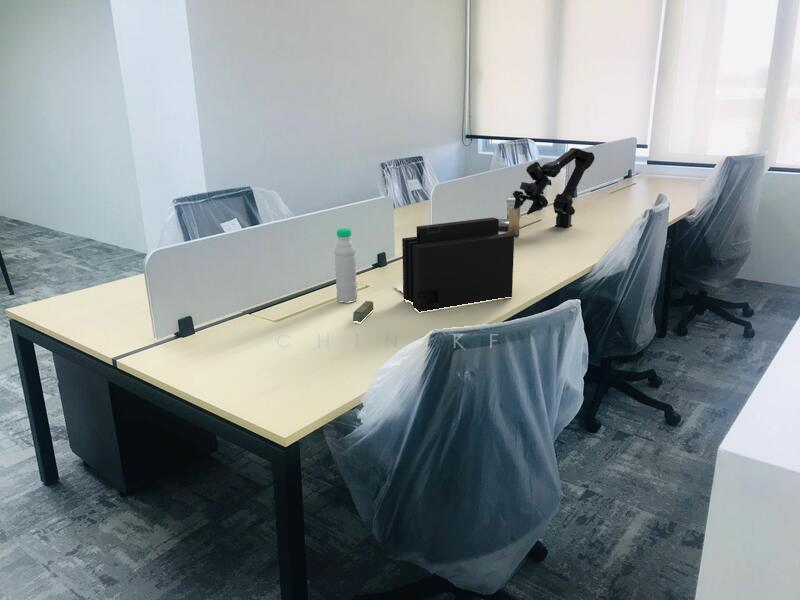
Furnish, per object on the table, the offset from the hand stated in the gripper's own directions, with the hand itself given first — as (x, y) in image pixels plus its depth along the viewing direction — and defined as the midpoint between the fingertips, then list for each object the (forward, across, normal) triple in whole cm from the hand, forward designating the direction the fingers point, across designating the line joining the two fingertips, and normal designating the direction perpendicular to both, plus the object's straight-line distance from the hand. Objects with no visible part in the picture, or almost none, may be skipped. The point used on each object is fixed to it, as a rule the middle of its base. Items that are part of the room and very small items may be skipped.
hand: (520, 212), depth 312 cm
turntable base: (+4, -16, +11) cm, 19 cm away
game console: (+66, +48, -49) cm, 95 cm away
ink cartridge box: (-6, -26, +21) cm, 35 cm away
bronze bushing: (+10, 0, +5) cm, 11 cm away
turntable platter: (+3, -16, +10) cm, 18 cm away
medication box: (+91, +51, -74) cm, 128 cm away
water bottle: (+88, +34, -72) cm, 118 cm away
